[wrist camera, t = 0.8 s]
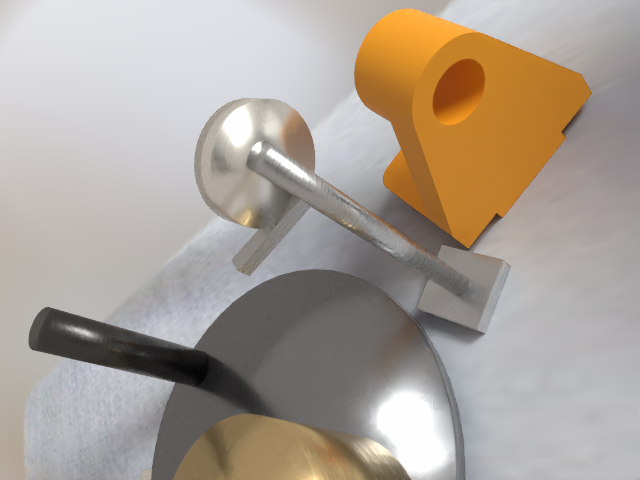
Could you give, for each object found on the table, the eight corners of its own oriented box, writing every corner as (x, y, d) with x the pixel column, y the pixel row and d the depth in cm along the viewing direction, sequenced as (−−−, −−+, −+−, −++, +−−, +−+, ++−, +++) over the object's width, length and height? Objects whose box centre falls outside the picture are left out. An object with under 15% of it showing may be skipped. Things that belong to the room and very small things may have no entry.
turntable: (248, 242, 46) (102, 170, 37) (534, 339, 29) (394, 250, 20) (118, 538, 43) (-74, 539, 34) (350, 836, 26) (91, 994, 17)
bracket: (502, 63, 38) (404, -71, 29) (596, 100, 33) (510, -49, 24) (399, 197, 39) (278, 106, 31) (474, 253, 34) (354, 161, 26)
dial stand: (447, 241, 35) (220, 72, 22) (513, 257, 32) (293, 72, 19) (406, 344, 35) (146, 231, 22) (470, 371, 31) (211, 257, 19)
